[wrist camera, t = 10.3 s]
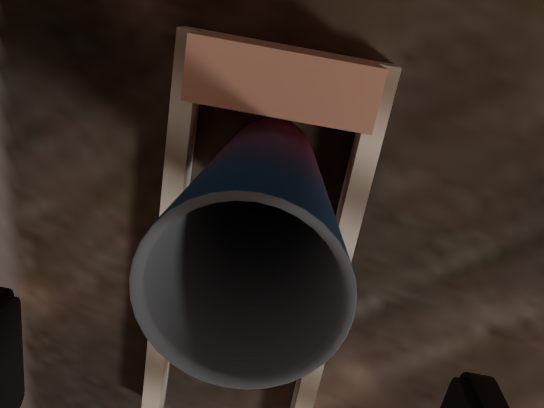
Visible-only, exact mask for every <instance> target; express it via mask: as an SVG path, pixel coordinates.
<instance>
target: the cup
mask: <svg viewBox="0 0 544 408" xmlns="http://www.w3.org/2000/svg"><path fill="white" fill-rule="evenodd" d="M129 293H130V301H131V305H132V308H133V312H134V315H135V318H136V320H137V322H138V324H139V326H140V328H141V330H142V332H143V334H144V335H145V337H146V338H147V339H148V341H149V342H150V343H151V344H152V346H153V347H154V348H155V350H156V351H157V352H159V353H160V354H161V355H162V356H163V357H164V358H165V359H166V360H168V361H169V362H170V363H171V364H172V365H174V366H175V367H177V368H179V369H180V370H182V371H183V372H185V373H187V374H188V375H190V376H193V377H195V378H197V379H200V380H202V381H205V382H207V383H211V384H215V385H219V386H223V387H227V388H236V389H263V388H271V387H275V386H280V385H284V384H288V383H290V382H293V381H295V380H297V379H300V378H302V377H305V376H307V375H308V374H310V373H311V372H313V371H314V370H316V369H317V368H319V367H320V366H322V365H323V364H324V363H325V362H326V361H327V360H328V359H329V358H330V357H331V356H332V355H333V354H334V353H336V352H337V350H338V349H339V347H340V346H341V344H342V343H343V341H344V340H345V338H346V337H347V335H348V333H349V330H350V328H351V325H352V322H353V320H354V317H355V311H356V304H357V287H356V277H355V274H354V271H353V268H352V264H351V261H350V258H349V255H348V252H347V249H346V246H345V243H344V241H343V238H342V235H341V232H340V229H339V226H338V223H337V220H336V217H335V214H334V211H333V208H332V205H331V202H330V199H329V196H328V193H327V191H326V188H325V185H324V182H323V179H322V176H321V173H320V170H319V167H318V164H317V161H316V158H315V155H314V152H313V149H312V146H311V144H310V142H309V140H308V138H307V136H306V135H305V134H304V133H303V132H302V131H301V130H300V129H299V128H298V127H296V126H295V125H294V124H292V123H290V122H288V121H285V120H282V119H278V118H264V119H259V120H256V121H253V122H251V123H249V124H248V125H246V126H245V127H243V128H242V129H241V130H240V131H239V132H238V133H237V134H236V135H235V136H234V137H233V138H232V139H231V141H230V142H229V143H228V144H227V145H226V146H225V147H224V148H223V149H222V150H221V151H220V152H219V153H218V154H217V155H216V157H215V158H214V159H213V160H212V161H211V162H210V163H209V164H208V165H207V166H206V167H205V168H204V169H203V170H202V172H201V173H200V174H199V175H198V176H197V177H196V178H195V179H194V180H193V181H192V182H191V183H190V184H189V185H188V187H187V188H186V189H185V190H184V191H183V192H182V193H181V194H180V195H179V196H178V197H177V198H176V199H175V200H174V202H173V203H172V204H171V205H170V206H169V207H168V208H167V209H166V210H165V211H164V212H163V213H162V214H161V215H160V217H159V218H158V219H157V220H156V221H155V222H154V223H153V224H152V225H151V227H150V228H149V229H148V231H147V232H146V233H145V235H144V236H143V238H142V239H141V240H140V242H139V245H138V247H137V249H136V252H135V254H134V256H133V259H132V263H131V269H130V274H129Z"/></svg>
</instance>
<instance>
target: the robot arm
mask: <svg viewBox="0 0 544 408" xmlns="http://www.w3.org/2000/svg"><path fill="white" fill-rule="evenodd" d="M24 391H25V389H24V368H23V346H22V324H21V303H20V299H19V298H18V297H14V293H13V291H12V290H11V289H9V288H4V287H0V408H20V406H21V404H22V401H23V398H24ZM440 408H509V406H508V404H507V402H506V400H505V398H504V396H503V394H502V392H501V390H500V388H499V386H498V384H497V382H496V380H495V379H494V378H493V377H491V376H485V375H480V374H474V373H469V372H464V373H462V374H461V376H460V378H457V377H454V378H453V379H452V381H451V383H450V385H449V388H448V390H447V392H446V395H445V397H444V400H443V402H442V405H441V407H440Z"/></svg>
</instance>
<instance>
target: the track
mask: <svg viewBox="0 0 544 408" xmlns="http://www.w3.org/2000/svg"><path fill="white" fill-rule="evenodd" d="M401 69H402V68H401V67H399V66H397V65H395V64H390V63H384V62H379V61H373V60H368V59H362V58H357V57H351V56H346V55H341V54H335V53H330V52H324V51H319V50H313V49H308V48H302V47H297V46H291V45H286V44H281V43H275V42H270V41H264V40H259V39H253V38H248V37H242V36H237V35H231V34H226V33H221V32H215V31H210V30H204V29H199V28H193V27H188V26H180V27H177V29H176V40H175V51H174V62H173V73H172V83H171V94H170V105H169V116H168V127H167V137H166V148H165V159H164V170H163V181H162V191H161V202H160V213H159V217H160V215H161V214H162V213H163V212H164V211H165V210H166V209H167V208H168V207H169V206H170V205H171V204H172V203H173V202H174V200H175V199H176V198H177V197H178V196H179V195H180V194H181V193H182V192H183V191H184V190H185V189H186V188H187V187H188V185H189V184H190V180H191V172H192V163H193V154H194V146H195V137H196V128H197V119H198V111H199V104H202V105H208V106H213V107H219V108H224V109H230V110H235V111H241V112H246V113H252V114H257V115H263V116H268V117H274V118H279V119H285V120H290V121H296V122H301V123H307V124H312V125H318V126H323V127H329V128H334V129H340V130H345V131H351V132H356V133H355V137H354V141H353V145H352V149H351V154H350V158H349V162H348V166H347V170H346V175H345V179H344V183H343V187H342V191H341V196H340V200H339V204H338V208H337V212H336V220H337V223H338V226H339V229H340V232H341V235H342V238H343V241H344V243H345V246H346V249H347V252H348V255H349V258H350V261H352V257H353V253H354V249H355V246H356V242H357V238H358V234H359V230H360V226H361V223H362V219H363V215H364V211H365V207H366V204H367V200H368V196H369V192H370V188H371V184H372V181H373V177H374V173H375V169H376V165H377V161H378V158H379V154H380V150H381V146H382V142H383V138H384V135H385V131H386V127H387V123H388V119H389V115H390V112H391V108H392V104H393V100H394V96H395V92H396V89H397V85H398V81H399V77H400V73H401ZM169 363H170V362H169V361H168V360H166V359H165V358H164V357H163V356H162V355H161V354H160V353H159V352H157V351H156V350H155V348H154V347H153V346H152V344H151V343H150V342H149V341H148V343H147V353H146V364H145V375H144V386H143V397H142V407H141V408H163V407H164V404H165V398H166V389H167V380H168V372H169ZM324 364H325V363H324ZM324 364H323V365H322V366H320V367H319V368H317V369H316V370H314V371H313V372H311V373H310V374H308V375H307V376H305V377H302V378H300V379H297V380H296V384H295V389H294V393H293V397H292V401H291V405H290V408H313V407H314V403H315V399H316V395H317V391H318V387H319V384H320V380H321V376H322V372H323V368H324Z"/></svg>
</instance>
